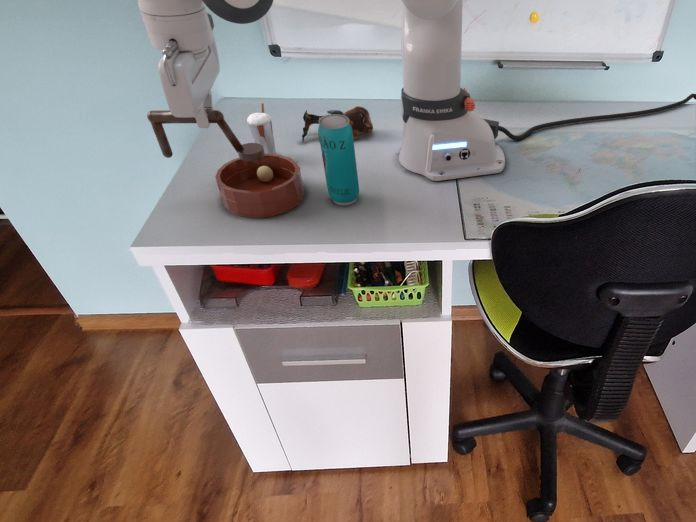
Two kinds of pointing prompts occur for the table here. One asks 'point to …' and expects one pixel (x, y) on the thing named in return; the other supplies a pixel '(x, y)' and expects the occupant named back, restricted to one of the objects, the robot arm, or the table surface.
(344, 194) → the beverage can
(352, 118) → the figurine
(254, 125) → the milkshake
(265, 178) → the ball
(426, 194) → the table surface
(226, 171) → the bowl
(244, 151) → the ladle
